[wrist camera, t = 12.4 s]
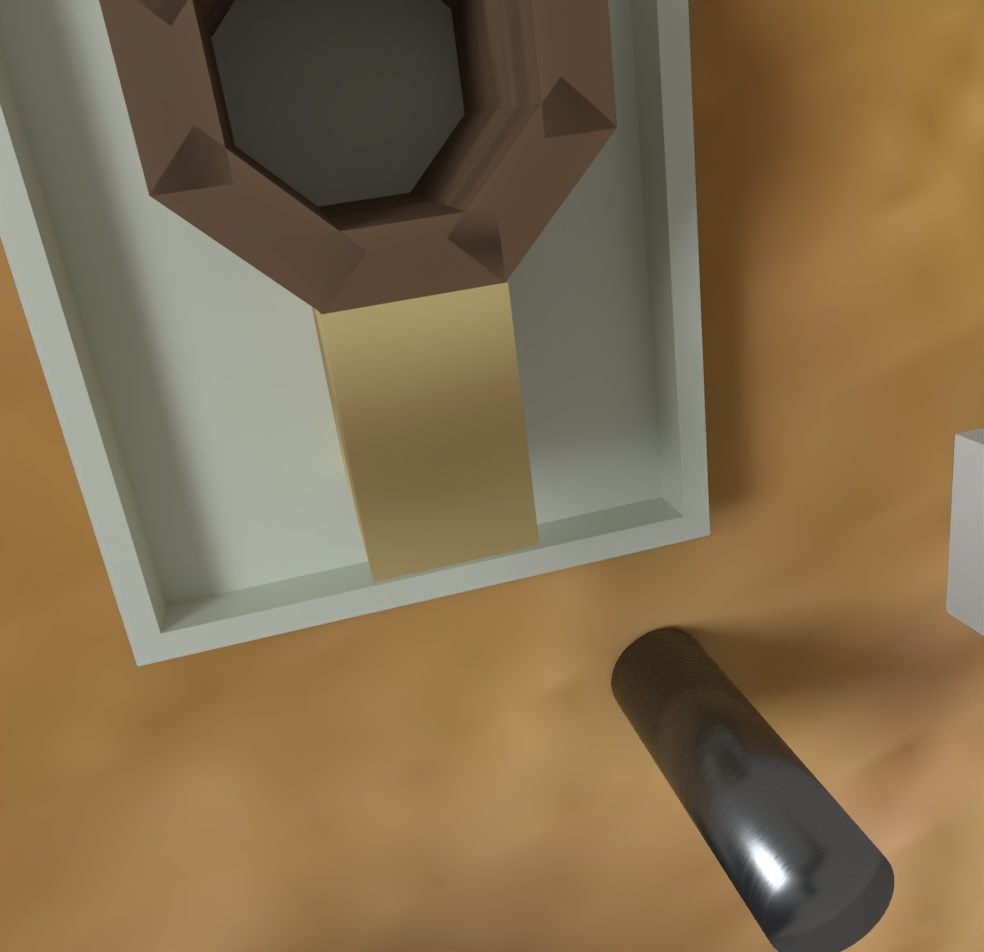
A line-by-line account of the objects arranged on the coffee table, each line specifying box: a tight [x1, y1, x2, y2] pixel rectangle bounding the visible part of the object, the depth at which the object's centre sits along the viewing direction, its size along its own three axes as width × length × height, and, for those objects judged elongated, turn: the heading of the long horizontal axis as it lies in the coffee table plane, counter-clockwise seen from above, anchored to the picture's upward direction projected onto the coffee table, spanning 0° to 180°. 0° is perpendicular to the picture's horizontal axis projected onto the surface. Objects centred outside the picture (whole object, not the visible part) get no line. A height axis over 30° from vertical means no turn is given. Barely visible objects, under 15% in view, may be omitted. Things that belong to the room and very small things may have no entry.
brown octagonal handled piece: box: [99, 0, 617, 582], centre depth 18 cm, size 12×8×6 cm, turn 7°
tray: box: [0, 0, 710, 667], centre depth 20 cm, size 18×14×2 cm
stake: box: [611, 630, 894, 952], centre depth 23 cm, size 3×3×9 cm
